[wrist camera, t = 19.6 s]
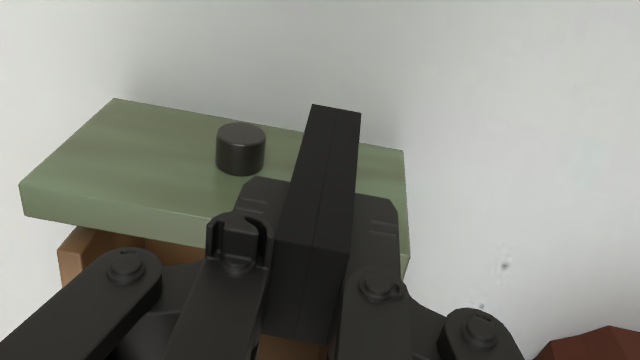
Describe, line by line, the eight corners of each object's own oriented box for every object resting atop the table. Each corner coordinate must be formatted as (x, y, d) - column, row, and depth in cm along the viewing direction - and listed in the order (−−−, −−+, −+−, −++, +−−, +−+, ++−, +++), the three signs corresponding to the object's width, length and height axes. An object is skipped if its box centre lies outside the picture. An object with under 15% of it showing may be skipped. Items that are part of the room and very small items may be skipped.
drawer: (111, 67, 20) (9, 146, 14) (411, 122, 19) (421, 222, 14) (129, 332, 27) (68, 447, 22) (343, 372, 27) (333, 497, 22)
